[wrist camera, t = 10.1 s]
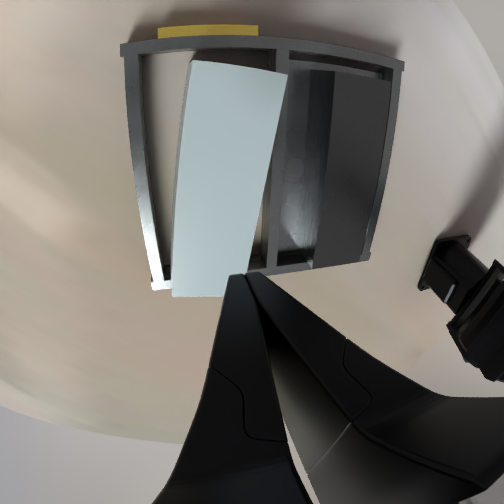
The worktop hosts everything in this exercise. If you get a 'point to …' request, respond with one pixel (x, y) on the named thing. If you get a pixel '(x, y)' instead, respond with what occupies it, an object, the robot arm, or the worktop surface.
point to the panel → (220, 172)
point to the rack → (293, 147)
